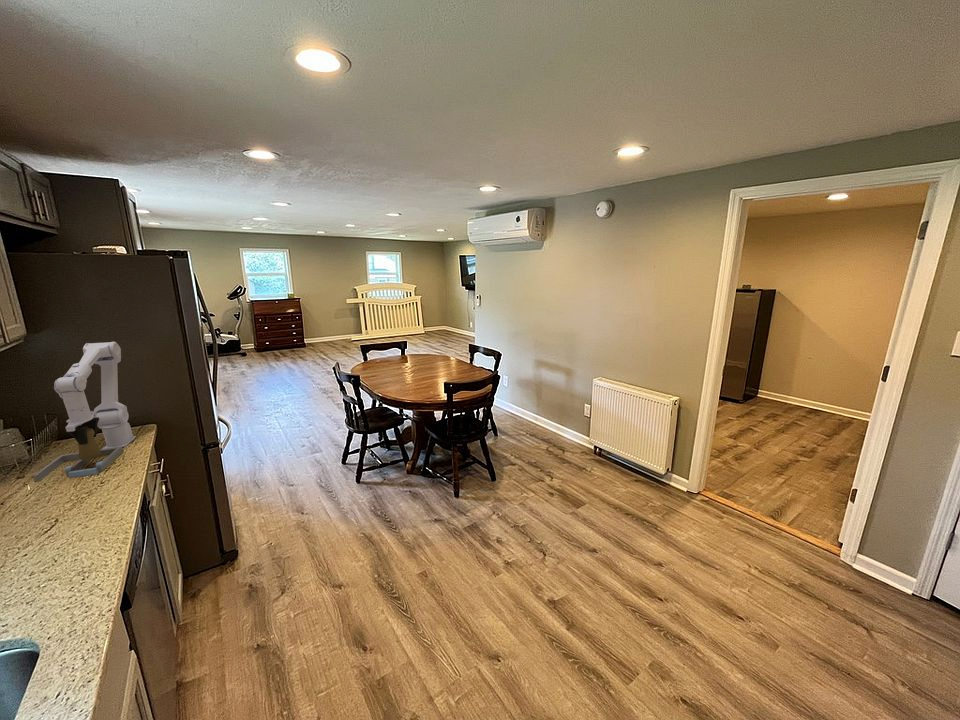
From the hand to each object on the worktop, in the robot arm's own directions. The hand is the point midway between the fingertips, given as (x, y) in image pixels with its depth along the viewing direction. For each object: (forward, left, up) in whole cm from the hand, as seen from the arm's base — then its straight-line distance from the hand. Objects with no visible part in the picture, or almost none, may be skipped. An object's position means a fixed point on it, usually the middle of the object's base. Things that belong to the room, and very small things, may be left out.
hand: (88, 440), depth 144 cm
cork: (0, -1, -6) cm, 7 cm away
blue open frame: (0, -5, -10) cm, 11 cm away
